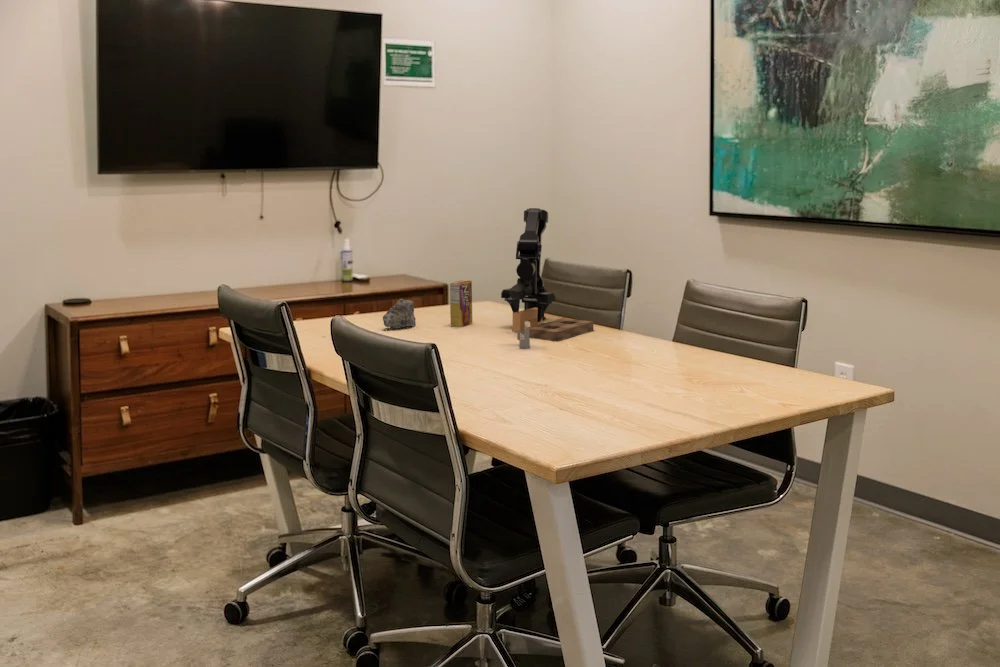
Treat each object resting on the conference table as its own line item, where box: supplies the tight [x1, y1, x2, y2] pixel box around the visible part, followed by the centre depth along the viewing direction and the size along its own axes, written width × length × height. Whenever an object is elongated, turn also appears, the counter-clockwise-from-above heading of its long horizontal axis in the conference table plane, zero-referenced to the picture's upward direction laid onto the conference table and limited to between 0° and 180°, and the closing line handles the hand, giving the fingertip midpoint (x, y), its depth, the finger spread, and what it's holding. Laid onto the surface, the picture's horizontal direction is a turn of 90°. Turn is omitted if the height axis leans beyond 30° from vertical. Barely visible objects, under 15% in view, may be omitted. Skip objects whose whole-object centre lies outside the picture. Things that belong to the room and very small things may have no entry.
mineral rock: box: [382, 298, 416, 329], centre depth 353 cm, size 13×11×10 cm
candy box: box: [449, 279, 473, 328], centre depth 358 cm, size 9×4×15 cm, turn 152°
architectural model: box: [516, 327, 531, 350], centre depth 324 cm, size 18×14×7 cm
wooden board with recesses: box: [527, 317, 594, 342], centre depth 345 cm, size 12×24×3 cm, turn 146°
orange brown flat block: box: [512, 308, 543, 333], centre depth 352 cm, size 3×14×6 cm, turn 146°
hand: (527, 320), depth 352 cm, fingers open, 9 cm apart
